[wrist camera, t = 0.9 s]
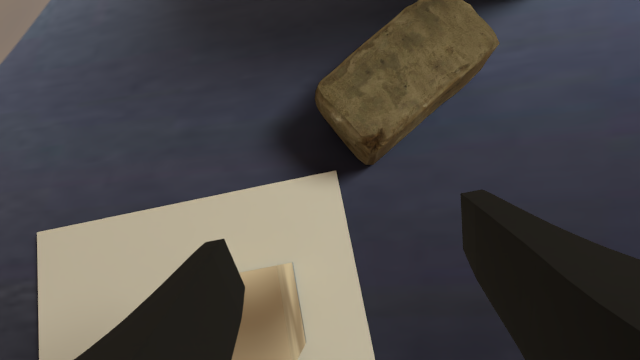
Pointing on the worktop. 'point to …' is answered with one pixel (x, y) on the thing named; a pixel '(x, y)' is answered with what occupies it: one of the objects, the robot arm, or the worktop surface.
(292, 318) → the cube
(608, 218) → the worktop surface
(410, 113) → the stone block
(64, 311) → the mat
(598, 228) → the worktop surface
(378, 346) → the worktop surface
